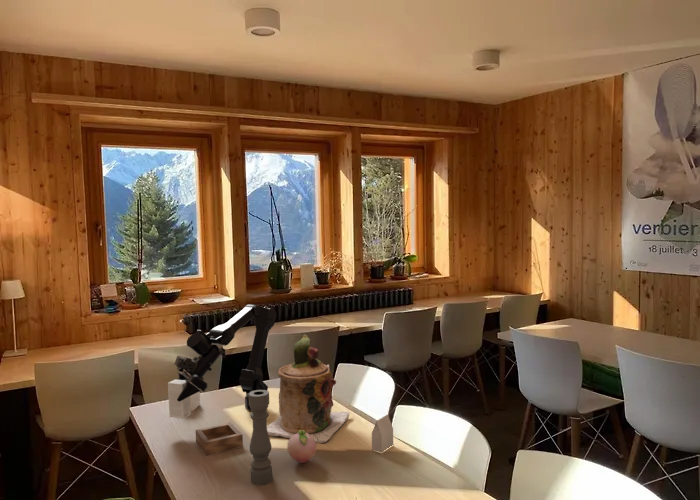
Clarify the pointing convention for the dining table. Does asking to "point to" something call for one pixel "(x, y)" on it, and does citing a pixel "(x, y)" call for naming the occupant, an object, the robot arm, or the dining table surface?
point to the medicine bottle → (195, 401)
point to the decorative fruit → (301, 446)
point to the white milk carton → (382, 434)
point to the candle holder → (260, 438)
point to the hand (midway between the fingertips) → (175, 397)
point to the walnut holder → (219, 438)
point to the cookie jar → (306, 397)
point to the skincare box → (176, 407)
